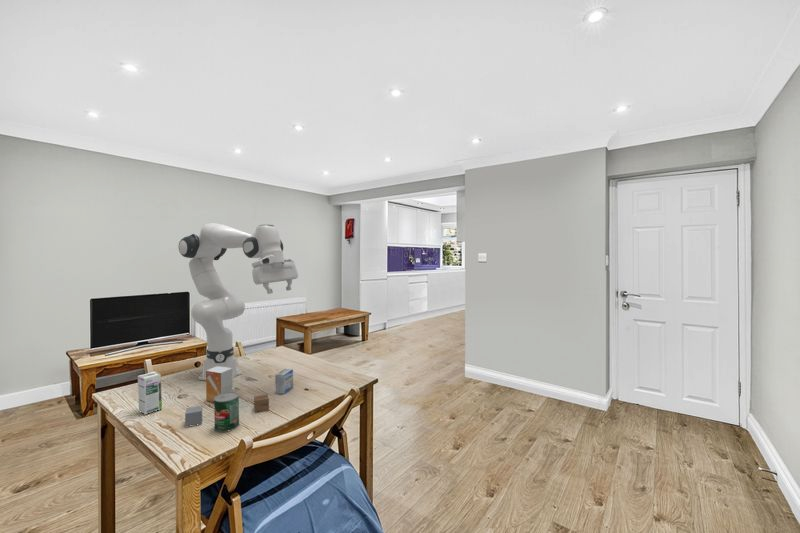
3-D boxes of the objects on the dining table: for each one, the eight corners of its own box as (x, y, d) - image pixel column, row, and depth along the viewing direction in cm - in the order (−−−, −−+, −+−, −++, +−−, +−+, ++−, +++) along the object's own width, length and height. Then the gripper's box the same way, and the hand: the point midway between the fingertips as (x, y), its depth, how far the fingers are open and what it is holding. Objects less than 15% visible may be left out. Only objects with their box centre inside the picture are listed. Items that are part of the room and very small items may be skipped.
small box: (205, 401, 144) (205, 370, 143) (218, 395, 150) (217, 365, 149) (221, 404, 141) (220, 372, 141) (233, 397, 147) (232, 367, 147)
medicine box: (284, 394, 151) (284, 375, 151) (275, 393, 152) (275, 374, 152) (293, 387, 159) (293, 369, 158) (284, 386, 160) (284, 368, 159)
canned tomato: (242, 420, 128) (241, 391, 127) (234, 431, 120) (234, 400, 120) (219, 421, 127) (219, 392, 126) (210, 432, 119) (210, 401, 119)
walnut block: (254, 408, 138) (254, 395, 138) (267, 405, 140) (267, 393, 140) (255, 413, 134) (254, 400, 134) (268, 410, 136) (268, 398, 136)
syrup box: (145, 415, 131) (144, 378, 130) (138, 411, 134) (137, 375, 133) (162, 409, 136) (161, 373, 135) (155, 406, 139) (154, 370, 138)
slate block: (186, 421, 127) (186, 408, 127) (202, 418, 129) (202, 405, 129) (185, 427, 122) (185, 413, 122) (201, 424, 125) (201, 411, 125)
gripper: (289, 260, 159) (295, 289, 159) (247, 264, 143) (254, 296, 142) (297, 257, 156) (303, 287, 155) (256, 260, 139) (263, 294, 138)
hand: (279, 291), depth 148 cm, fingers open, 8 cm apart
